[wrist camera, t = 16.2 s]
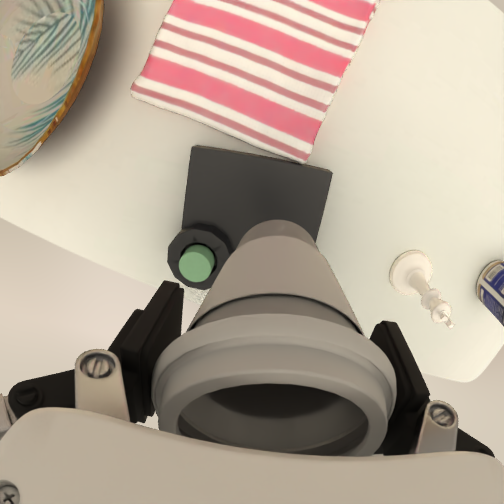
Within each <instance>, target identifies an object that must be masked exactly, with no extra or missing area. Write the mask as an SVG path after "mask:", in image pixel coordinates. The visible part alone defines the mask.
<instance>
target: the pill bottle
mask: <svg viewBox="0 0 504 504" xmlns="http://www.w3.org/2000/svg"><path fill="white" fill-rule="evenodd" d="M477 295H478V298H479V299H480V301H481V302H482V303H483V304H484V305H485V306H486V307H487V308H488V309H489V310H490V311H491V313H492V314H493V315H494V316H495V317H496V318H497V319H498V320H499V321H500V323H501V324H502V325H503V326H504V261H494V262H492V263H490V264H489V265H488V266H487V267H486V268H485V269H484V270H483V271H482V273H481V275H480V277H479V279H478V282H477Z"/></svg>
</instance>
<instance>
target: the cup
mask: <svg viewBox="0 0 504 504" xmlns="http://www.w3.org/2000/svg"><path fill="white" fill-rule="evenodd" d="M396 395H397V390H396V376H395V372H394V369H393V367H392V365H391V363H390V361H389V359H388V358H387V356H386V355H385V354H384V352H383V351H382V350H381V349H380V348H379V347H378V346H377V345H375V344H374V343H373V342H372V341H371V340H369V339H368V338H366V337H365V335H364V333H363V331H362V329H361V327H360V325H359V323H358V321H357V318H356V316H355V314H354V312H353V310H352V308H351V306H350V304H349V302H348V300H347V298H346V296H345V294H344V292H343V290H342V288H341V286H340V285H339V283H338V281H337V279H336V277H335V275H334V273H333V271H332V269H331V267H330V265H329V264H328V262H327V260H326V259H325V257H324V256H323V255H322V254H321V253H320V252H319V250H318V248H317V246H316V244H315V242H314V240H313V238H312V237H311V236H310V234H309V233H308V232H307V231H306V230H305V229H303V228H302V227H301V226H299V225H297V224H295V223H293V222H290V221H286V220H269V221H265V222H262V223H259V224H257V225H256V226H254V227H252V228H251V229H250V230H249V231H248V232H247V233H246V234H245V235H244V236H243V238H242V239H241V241H240V243H239V245H238V247H237V249H236V250H235V252H233V253H232V254H231V256H230V257H229V258H228V260H227V261H226V262H225V264H224V266H223V268H222V269H221V271H220V273H219V275H218V276H217V278H216V280H215V282H214V283H213V285H212V287H211V289H210V290H209V292H208V294H207V296H206V297H205V299H204V301H203V303H202V305H201V306H200V308H199V310H198V312H197V313H196V315H195V317H194V319H193V321H192V322H191V324H190V326H189V328H188V329H187V331H186V333H184V334H183V335H181V336H180V337H178V338H177V339H176V340H174V341H173V342H172V343H171V344H170V345H169V346H168V347H167V348H166V349H165V350H164V351H163V352H162V353H161V355H160V356H159V358H158V359H157V361H156V364H155V366H154V369H153V373H152V380H151V398H152V401H153V404H154V408H155V411H156V414H157V416H158V425H159V430H160V431H164V432H168V433H172V434H176V435H180V436H185V437H189V438H193V439H198V440H202V441H207V442H212V443H218V444H223V445H229V446H235V447H241V448H247V449H254V450H262V451H270V452H279V453H289V454H301V455H317V456H347V457H367V456H372V455H373V454H374V452H375V451H376V450H377V449H378V448H379V447H380V445H381V443H382V442H383V440H384V438H385V436H386V432H387V426H388V421H389V419H390V417H391V415H392V413H393V410H394V406H395V401H396Z"/></svg>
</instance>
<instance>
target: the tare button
mask: <svg viewBox="0 0 504 504" xmlns="http://www.w3.org/2000/svg"><path fill="white" fill-rule="evenodd" d="M214 263H215V258H214V255H213V253H212V252H211V250H210V249H209V248H207V247H205V246H203V245H193V246H190V247H189V248H188V249H187V250H186V251H185V253H184V254H183V256H182V257H181V259H180V261H179V269H180V272H181V274H182V275H183V276H184V277H185V278H186V279H188V280H190V281H193V282H201V281H204V280H205V279H207V278H208V277H209V275H210V273H211V271H212V268H213V266H214Z"/></svg>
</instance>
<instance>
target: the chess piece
mask: <svg viewBox="0 0 504 504" xmlns="http://www.w3.org/2000/svg"><path fill="white" fill-rule="evenodd" d="M431 276H432V264H431V262H430V260H429V258H428V257H427V256H426V255H425V254H424V253H423V252H420V251H415V250H414V251H408V252H406V253H404V254H402V255H401V256H399V257H398V258H397V259H396V260H395V262H394V263H393V265H392V267H391V270H390V282H391V285H392V286H393V288H394V289H395V290H396V291H398V292H399V293H401V294H404V295H413V294H416V293H419V294H420V295H422V299H421V304H422V306H423V307H424V308H425V309H430V311H431V318H432V320H433V321H434V322H436V323H441V322H444V323H445V324H446V325H447V327H448V328H449V329H452V328H453V327H454V325H455V324H454V323H453V322H452V321H451V320H450V319H449V318H448V317H449V316H450V314H451V306H450V304H449V303H447V302H445V301H442V300H441V292H440V291H439V290H438V289H436V288H432V289H430V287H429V285H428V283H429V281H430V279H431Z"/></svg>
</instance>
